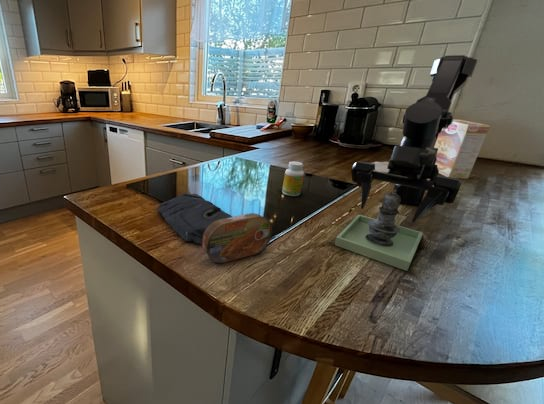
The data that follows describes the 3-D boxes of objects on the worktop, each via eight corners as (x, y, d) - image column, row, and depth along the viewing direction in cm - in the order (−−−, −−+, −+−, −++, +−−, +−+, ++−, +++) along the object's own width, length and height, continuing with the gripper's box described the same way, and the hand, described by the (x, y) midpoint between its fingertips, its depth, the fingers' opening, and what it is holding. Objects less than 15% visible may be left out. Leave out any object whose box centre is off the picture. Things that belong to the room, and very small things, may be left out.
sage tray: (356, 221, 75) (358, 214, 74) (420, 240, 67) (423, 232, 66) (334, 245, 64) (336, 237, 64) (407, 271, 56) (410, 262, 55)
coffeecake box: (423, 166, 124) (440, 118, 116) (442, 167, 123) (460, 119, 115) (447, 177, 110) (468, 124, 102) (469, 179, 109) (491, 124, 101)
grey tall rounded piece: (376, 231, 69) (391, 183, 64) (401, 244, 64) (419, 192, 59) (358, 236, 67) (372, 186, 62) (382, 249, 62) (400, 196, 57)
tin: (206, 267, 56) (208, 227, 53) (198, 258, 59) (200, 220, 55) (270, 251, 62) (276, 214, 58) (261, 243, 64) (266, 208, 61)
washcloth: (414, 175, 112) (417, 167, 111) (383, 181, 105) (385, 172, 104) (384, 167, 122) (386, 159, 121) (353, 171, 115) (355, 163, 114)
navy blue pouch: (202, 199, 87) (203, 184, 85) (249, 233, 69) (251, 214, 67) (153, 208, 80) (152, 192, 78) (191, 248, 62) (191, 228, 60)
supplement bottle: (291, 197, 89) (296, 166, 85) (278, 191, 93) (282, 161, 90) (303, 194, 91) (309, 164, 88) (290, 189, 96) (295, 160, 92)
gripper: (364, 124, 65) (336, 184, 62) (480, 137, 53) (452, 211, 50) (365, 154, 73) (340, 207, 70) (465, 170, 61) (440, 235, 58)
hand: (386, 214), depth 62 cm, fingers open, 9 cm apart
